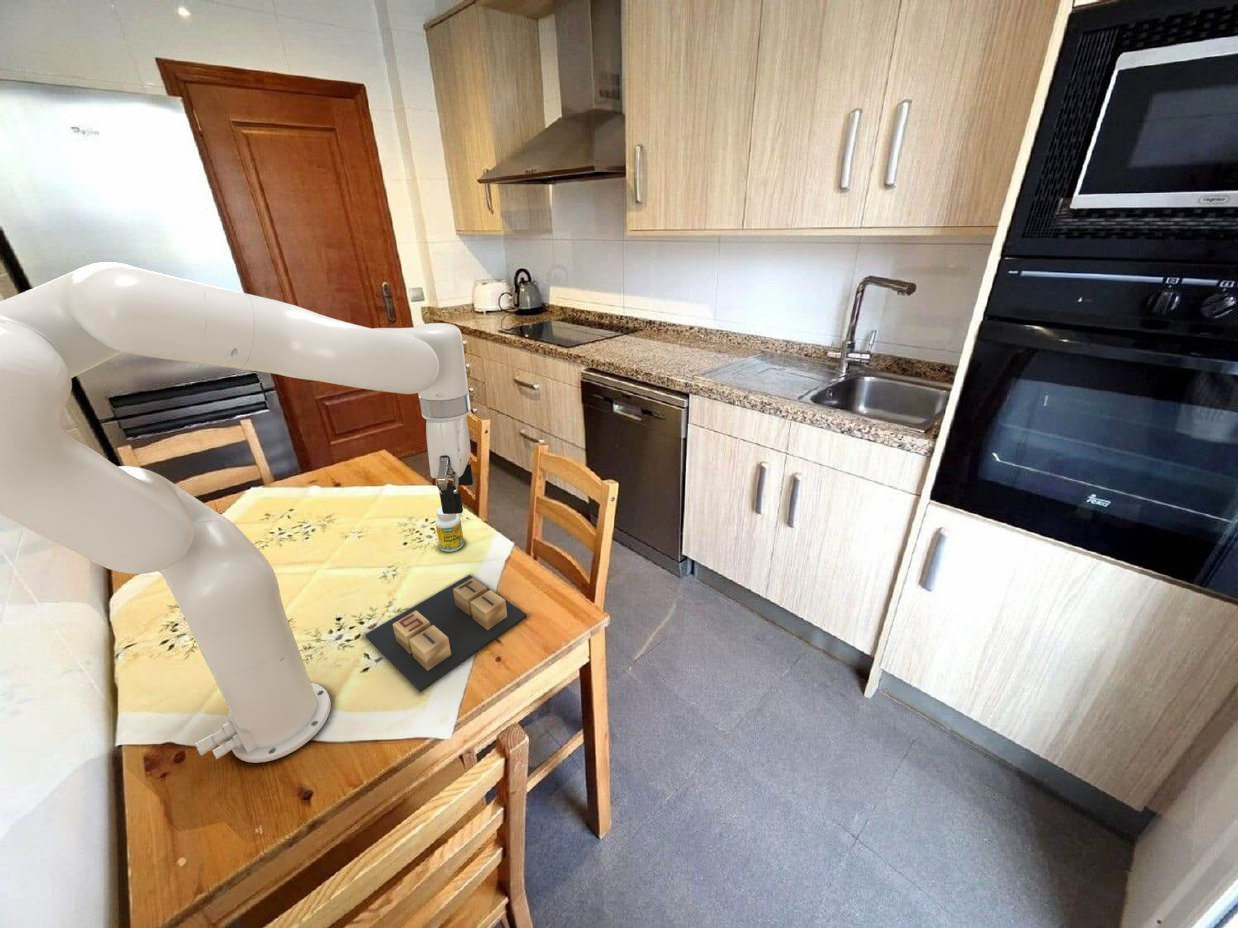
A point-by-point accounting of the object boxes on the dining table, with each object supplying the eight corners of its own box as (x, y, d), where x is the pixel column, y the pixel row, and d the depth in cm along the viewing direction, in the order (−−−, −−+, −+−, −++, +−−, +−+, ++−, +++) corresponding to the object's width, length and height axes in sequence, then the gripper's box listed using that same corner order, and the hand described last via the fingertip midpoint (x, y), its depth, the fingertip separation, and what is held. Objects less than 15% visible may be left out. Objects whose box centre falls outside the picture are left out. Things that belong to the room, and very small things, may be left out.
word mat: (420, 691, 80) (419, 689, 79) (365, 636, 90) (365, 634, 90) (526, 616, 95) (526, 614, 94) (469, 576, 105) (469, 574, 105)
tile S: (409, 654, 86) (405, 636, 84) (396, 641, 88) (392, 623, 86) (433, 639, 89) (430, 621, 87) (419, 626, 91) (416, 609, 89)
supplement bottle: (460, 536, 118) (454, 501, 114) (467, 547, 114) (462, 511, 110) (436, 543, 116) (430, 507, 111) (443, 555, 112) (437, 518, 107)
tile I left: (427, 671, 82) (423, 652, 81) (413, 657, 85) (408, 639, 83) (451, 654, 86) (448, 636, 84) (436, 641, 88) (433, 624, 86)
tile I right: (487, 630, 91) (485, 612, 89) (472, 618, 93) (470, 601, 92) (507, 616, 94) (505, 599, 92) (492, 605, 96) (490, 589, 95)
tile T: (469, 616, 94) (466, 599, 92) (455, 605, 96) (452, 588, 95) (489, 603, 97) (487, 586, 95) (475, 593, 100) (472, 576, 98)
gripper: (434, 388, 87) (447, 476, 94) (405, 424, 71) (423, 526, 79) (478, 387, 88) (488, 474, 95) (459, 424, 72) (472, 524, 80)
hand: (458, 498), depth 87 cm, fingers open, 9 cm apart
